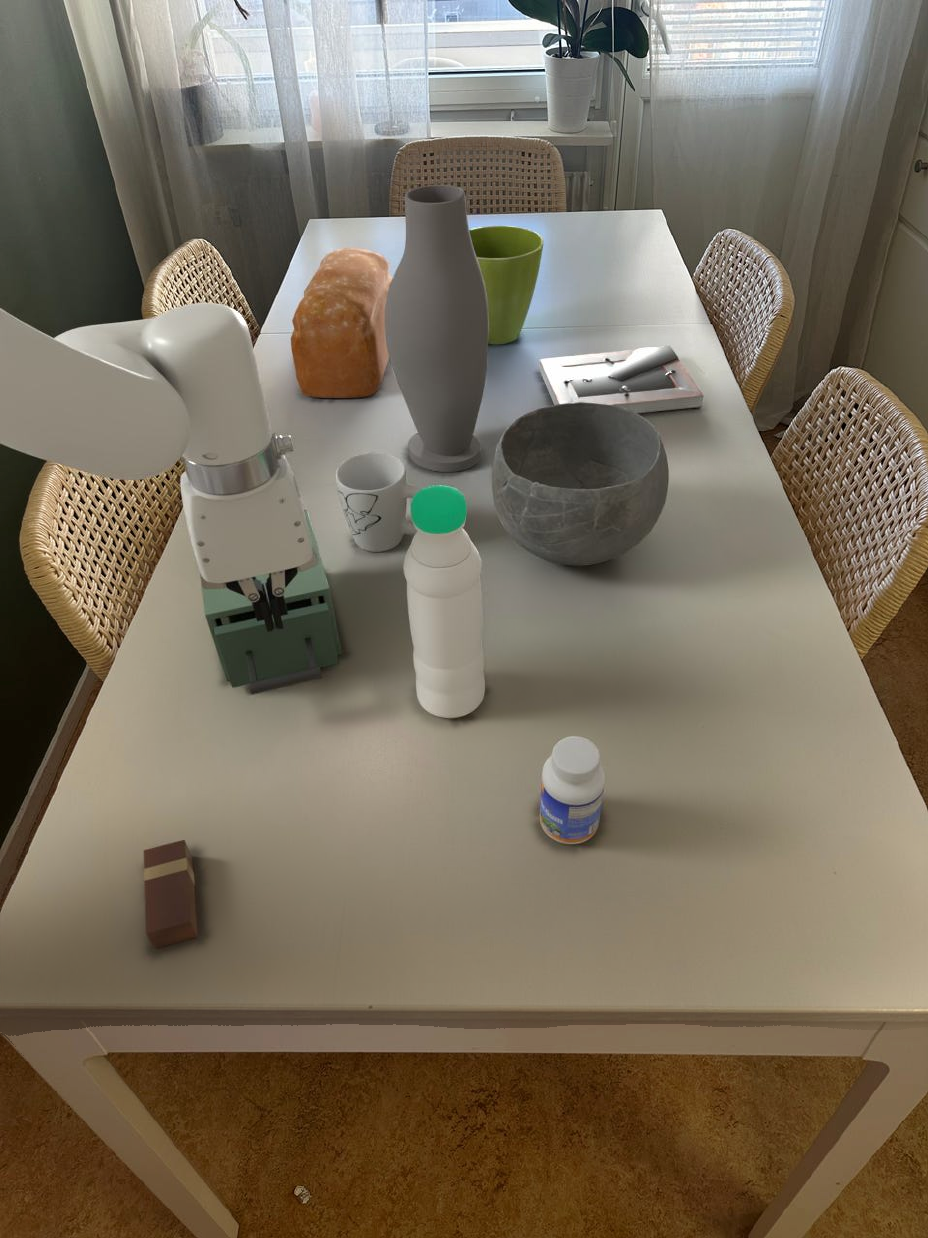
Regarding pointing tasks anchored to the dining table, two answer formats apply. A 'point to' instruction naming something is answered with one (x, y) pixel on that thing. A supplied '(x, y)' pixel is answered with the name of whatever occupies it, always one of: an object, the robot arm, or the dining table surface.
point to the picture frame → (623, 380)
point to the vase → (439, 329)
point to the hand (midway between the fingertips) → (273, 620)
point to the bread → (342, 326)
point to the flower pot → (507, 276)
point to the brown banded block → (169, 894)
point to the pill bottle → (572, 791)
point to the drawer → (277, 647)
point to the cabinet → (298, 589)
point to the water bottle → (445, 604)
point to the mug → (375, 499)
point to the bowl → (579, 481)
